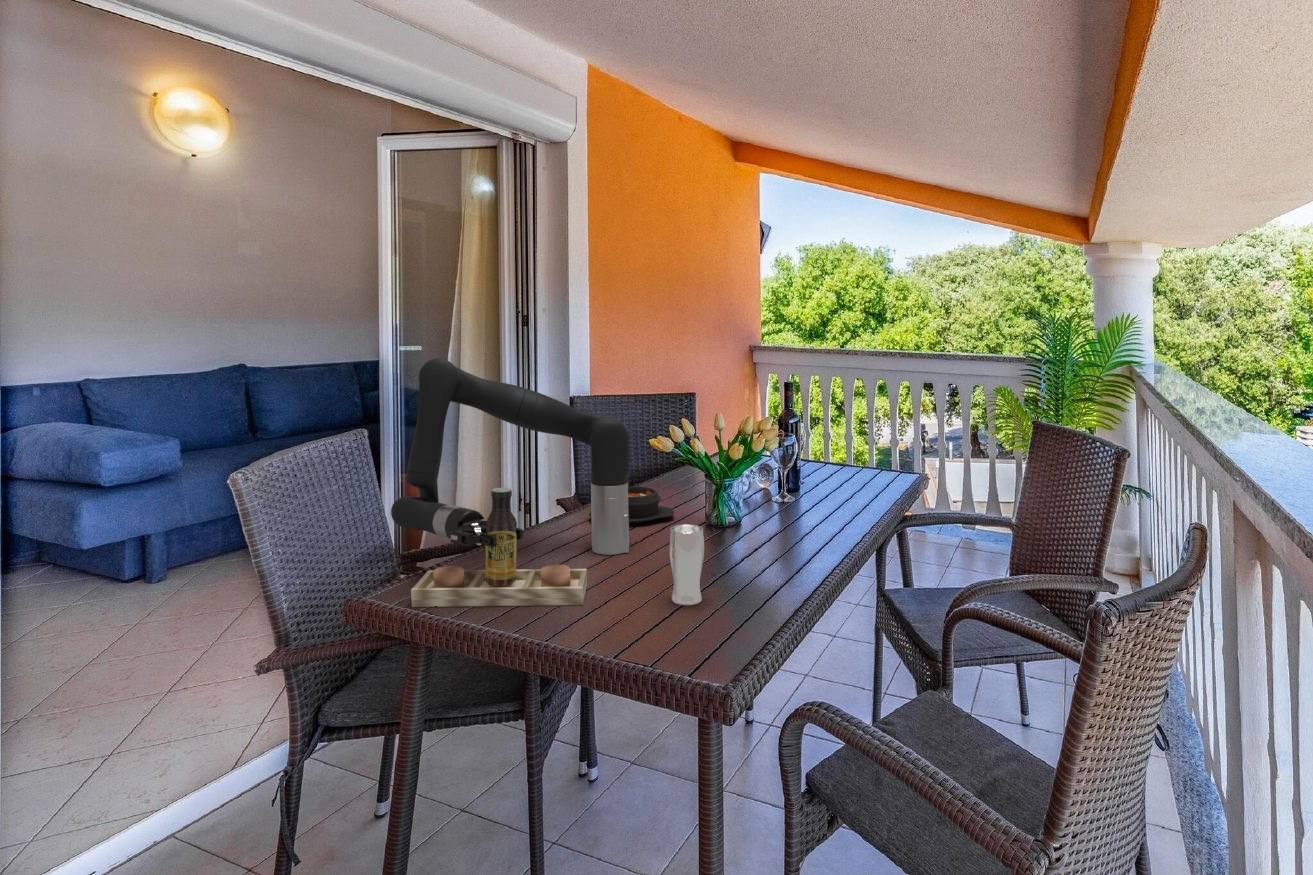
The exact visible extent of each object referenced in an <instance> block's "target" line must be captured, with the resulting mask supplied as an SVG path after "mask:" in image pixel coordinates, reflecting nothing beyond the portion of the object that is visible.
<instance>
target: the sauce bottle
mask: <svg viewBox="0 0 1313 875" xmlns="http://www.w3.org/2000/svg"><path fill="white" fill-rule="evenodd" d="M490 492H491V493H490V495H491V501H492V502H491V503H492V506H491V510H490V513H489V515H488V517H487V521H486V525H487V527H486V528H487V529H486V534H490V535H493V536H495V537H496V547H490V546H486V545H485V569H484V570H485V575H486V583H487V584H488V585H491V586H495V587H502V586H508V585H511V584H513V583H514V582H515V579H516V570H517V540H518V539H516V535H517V534H516V522H517V519H516V517H515V516H514V514H513V512H512V507H511V506H512V505H511V502H512V499H511V498H512V496H513V494H512V492H513V491H512V489H511V488H508V487H495V488H492V489H491V491H490Z"/></svg>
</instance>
